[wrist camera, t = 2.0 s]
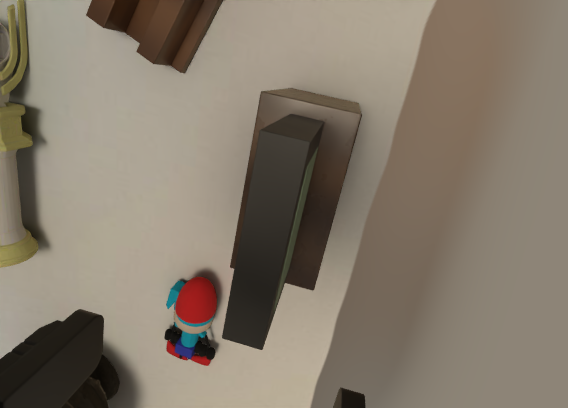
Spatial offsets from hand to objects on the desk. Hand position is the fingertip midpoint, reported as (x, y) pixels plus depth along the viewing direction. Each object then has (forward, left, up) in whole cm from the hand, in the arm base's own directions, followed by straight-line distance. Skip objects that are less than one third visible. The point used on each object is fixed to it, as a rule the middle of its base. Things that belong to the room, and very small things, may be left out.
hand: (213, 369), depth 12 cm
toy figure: (+25, 0, -30) cm, 38 cm away
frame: (0, 0, -16) cm, 17 cm away
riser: (0, 0, -30) cm, 30 cm away
